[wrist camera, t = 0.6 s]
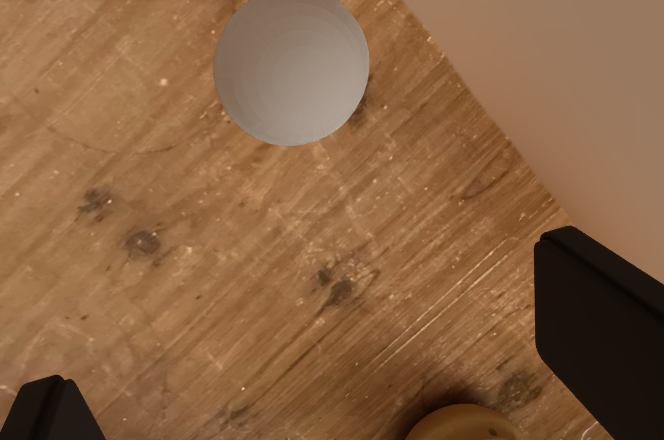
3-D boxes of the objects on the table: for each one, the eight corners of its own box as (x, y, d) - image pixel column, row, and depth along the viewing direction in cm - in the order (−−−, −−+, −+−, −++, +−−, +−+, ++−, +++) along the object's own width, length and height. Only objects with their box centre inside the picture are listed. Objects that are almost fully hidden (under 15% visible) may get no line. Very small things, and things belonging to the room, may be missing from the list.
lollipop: (273, -36, 30) (330, -56, 16) (330, 52, 32) (419, 96, 19) (188, 30, 30) (175, 63, 17) (251, 112, 33) (283, 196, 19)
